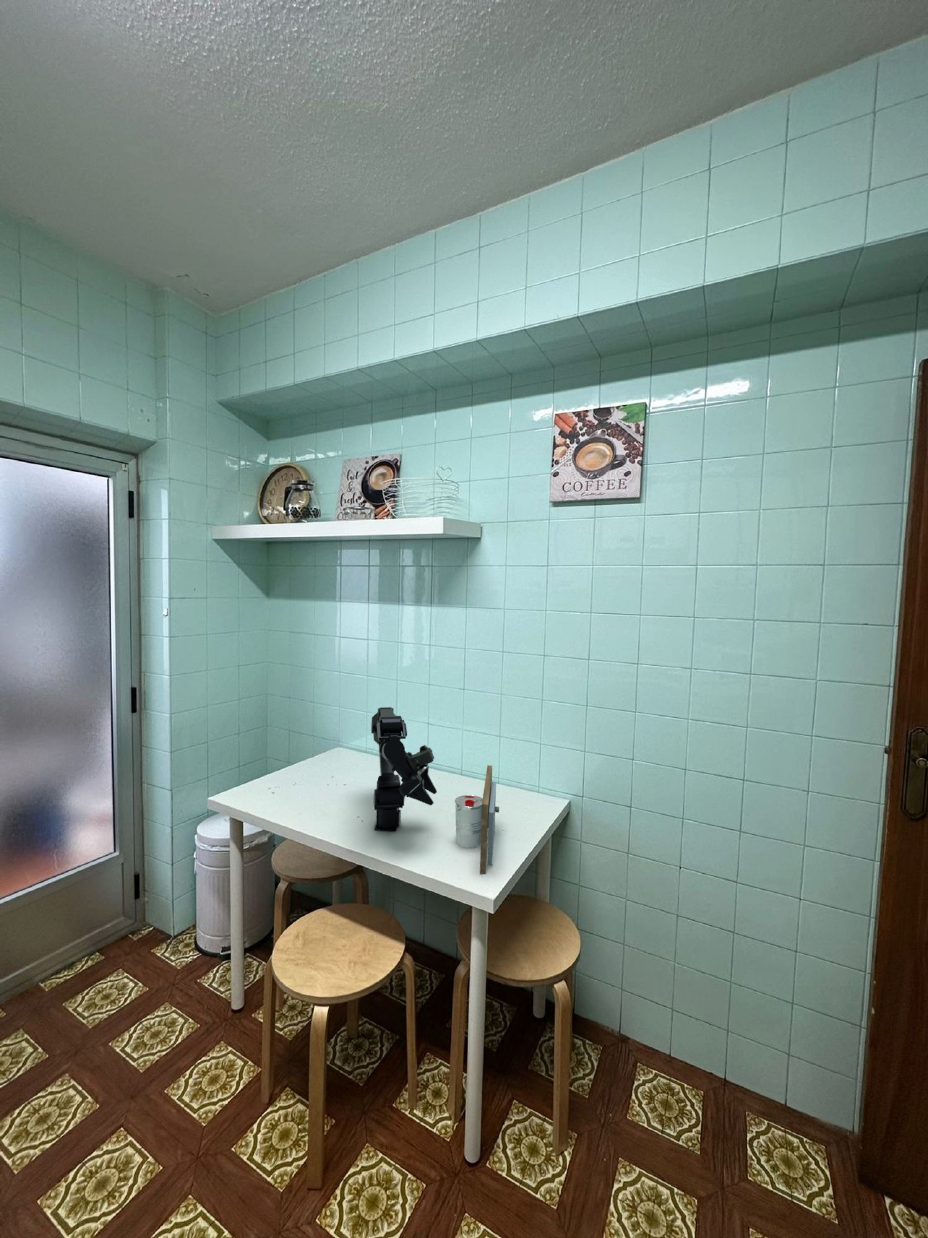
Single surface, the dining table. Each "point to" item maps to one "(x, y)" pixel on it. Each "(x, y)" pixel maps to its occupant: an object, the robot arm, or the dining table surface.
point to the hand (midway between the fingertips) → (434, 798)
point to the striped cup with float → (468, 820)
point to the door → (491, 823)
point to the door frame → (485, 819)
